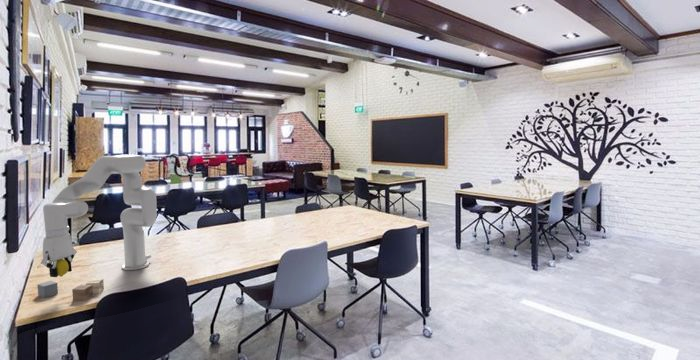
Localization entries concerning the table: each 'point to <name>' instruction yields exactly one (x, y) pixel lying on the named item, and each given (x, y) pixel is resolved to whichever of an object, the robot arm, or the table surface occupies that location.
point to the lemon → (62, 267)
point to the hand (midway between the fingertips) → (61, 273)
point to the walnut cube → (82, 292)
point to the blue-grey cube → (47, 289)
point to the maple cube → (96, 285)
